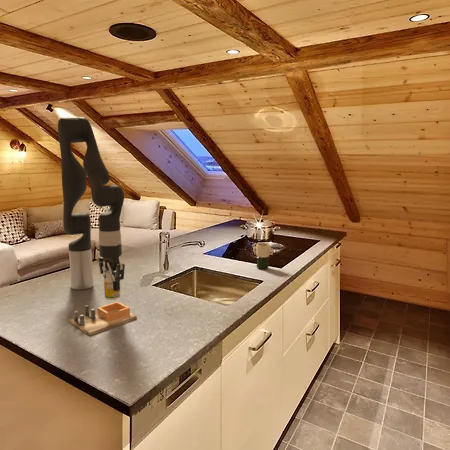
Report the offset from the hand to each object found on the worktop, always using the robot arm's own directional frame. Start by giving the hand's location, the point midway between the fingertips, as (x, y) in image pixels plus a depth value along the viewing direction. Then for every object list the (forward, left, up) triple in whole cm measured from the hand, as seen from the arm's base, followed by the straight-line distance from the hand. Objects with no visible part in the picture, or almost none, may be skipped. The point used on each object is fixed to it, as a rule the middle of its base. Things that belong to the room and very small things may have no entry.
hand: (112, 288), depth 131 cm
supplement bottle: (0, 0, -4) cm, 4 cm away
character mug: (+3, +87, -11) cm, 87 cm away
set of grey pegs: (-3, -9, -10) cm, 14 cm away
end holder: (0, 0, -11) cm, 11 cm away
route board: (0, -4, -11) cm, 12 cm away
